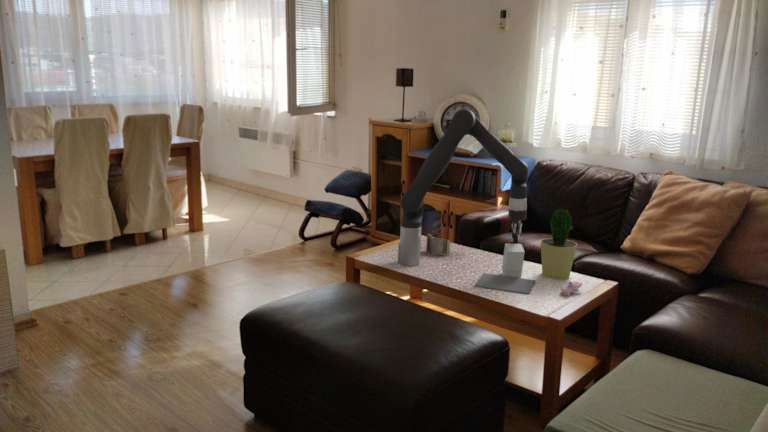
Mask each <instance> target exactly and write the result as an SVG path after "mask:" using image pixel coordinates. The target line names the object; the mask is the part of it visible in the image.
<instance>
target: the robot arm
mask: <svg viewBox="0 0 768 432" xmlns="http://www.w3.org/2000/svg"><path fill="white" fill-rule="evenodd" d="M466 134H469V135H470V136H472V137H473V138H474V139H475V140H476V141H477V142H478V144H479V143H480V145H481V146H482V147H483V148H484V150H486V152H487V153H488V154H489V155H490V156H491V157H492V158H493V159H494V160H496V161H497V162H498V163H499V164H500V165H502V166H503V167H504V169H505V170H506V171H507V172H508V173H509V174H510V175H511V176H510V177H511V185H510V189H509V202H508V212H507V214H508V215H507V218H508V219H509V220H512V223H511V239H512V244H520V243H519V242H520V236H521V233H522V226H523V222H522V221H525V220H526V219H527V209H528V203H527V201H528V200H527V199H528V185H527V184H528V174H529V165H528V164H527V162H525V161H523V160H520V158H518V157H517V156H516V155H515V154H514V153H513V151H512V150H511V149H510V148H509V147H508V146H507V145H506V144H504V143H503V142H502V141H501V140H500V138H499V139H498V137H496V136H495V135H494V134H493V133H491V132H490V130H488V129H487V127H485V126H484V124H482V122H481V121H480V120H479V119H478V117H477V116H476V114H475V113H474V112H473V111H472V110H471V109H469V108H461V109H458V110H457V111H456V112H455V113H454V114H453V115H452V118H451V121H450V122H449V124H448V127H447V129H446V131H445V132H444V134H443V135H442V136H441V138H440V139H439V140H438V142H437V143H436V144H435V145H434V146H433V148H432V149H431V150H430V153H429V154H428V155H427V157H426V158H425V160H424V162H423V164H422V166H421V168H419V171H418V174H417V176H416V178H415V179H414V181H413V183H411V185H410V186H409V188H408V189H407V190H406V191H405V193H403V195H402V196H401V198H400V201H399V203H400V207H401V210H402V217H401V220H400V234H399V235H400V238H399V242H398V248H397V249H398V252H397V264H399V265H403V266H407V267H408V266H409V267H415V266H419V265H420V263H421V248H422V247H421V246H422V245H421V242H422V225H423V224H422V223H423V219H424V206H425V205H424V203H425V202H424V201H425V200H424V199H425V196H427V194H428V191H429V190H430V189H431V187H432V186H434V184H435V183H436V182H437V181H438V180H439V178H440V177H441V175H442V174H443V173H444V171H445V170H446V168H447V167H448V166H449V164H450V162H451V161H452V158H453V157H454V155H455V152H456V150H457V147H458V145H459V144H460V142H461V141H462V140H463V139H464V137H465V136H466Z"/></svg>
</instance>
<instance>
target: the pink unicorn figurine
mask: <svg viewBox="0 0 768 432" xmlns="http://www.w3.org/2000/svg"><path fill="white" fill-rule="evenodd" d="M583 284H584V283H583V282H579V281H568V284H567V285H566V288H560V290H561V291H560V292H559V293H558V296H559V297H561V296H562V297H564V298H566V299H567V298H569V297H570V296H571V294H576V293H578V292H579V288H581V287H582V286H583Z"/></svg>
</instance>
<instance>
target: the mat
mask: <svg viewBox="0 0 768 432" xmlns="http://www.w3.org/2000/svg"><path fill="white" fill-rule="evenodd" d="M535 283H536V280H535V279H528V278H523V277H522V278H521V277H508V276H504V275H500V274H493V273H487V272H486V273H485V272H483V273H482V274H481V276H480V277H479V278H478V280H477V281H476V282H475V284H474V286H473V287H474V288H479V289H480V288H481V289H486V290H487V289H488V290H495V291H501V292H502V291H503V292H506V293H507V292H508V293H515V294H522V295H530V294H531V292H532V289H533V288H534V285H535Z"/></svg>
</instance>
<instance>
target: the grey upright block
mask: <svg viewBox="0 0 768 432" xmlns="http://www.w3.org/2000/svg"><path fill="white" fill-rule="evenodd" d="M425 251H426V253H428V252H430V253H431V254H434V253H435V255H440V256H444V257H448V256H450V253H451V240H450V239H445V238H439V237H434V236H433V234H431V233H427V237H426V250H425Z"/></svg>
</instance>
